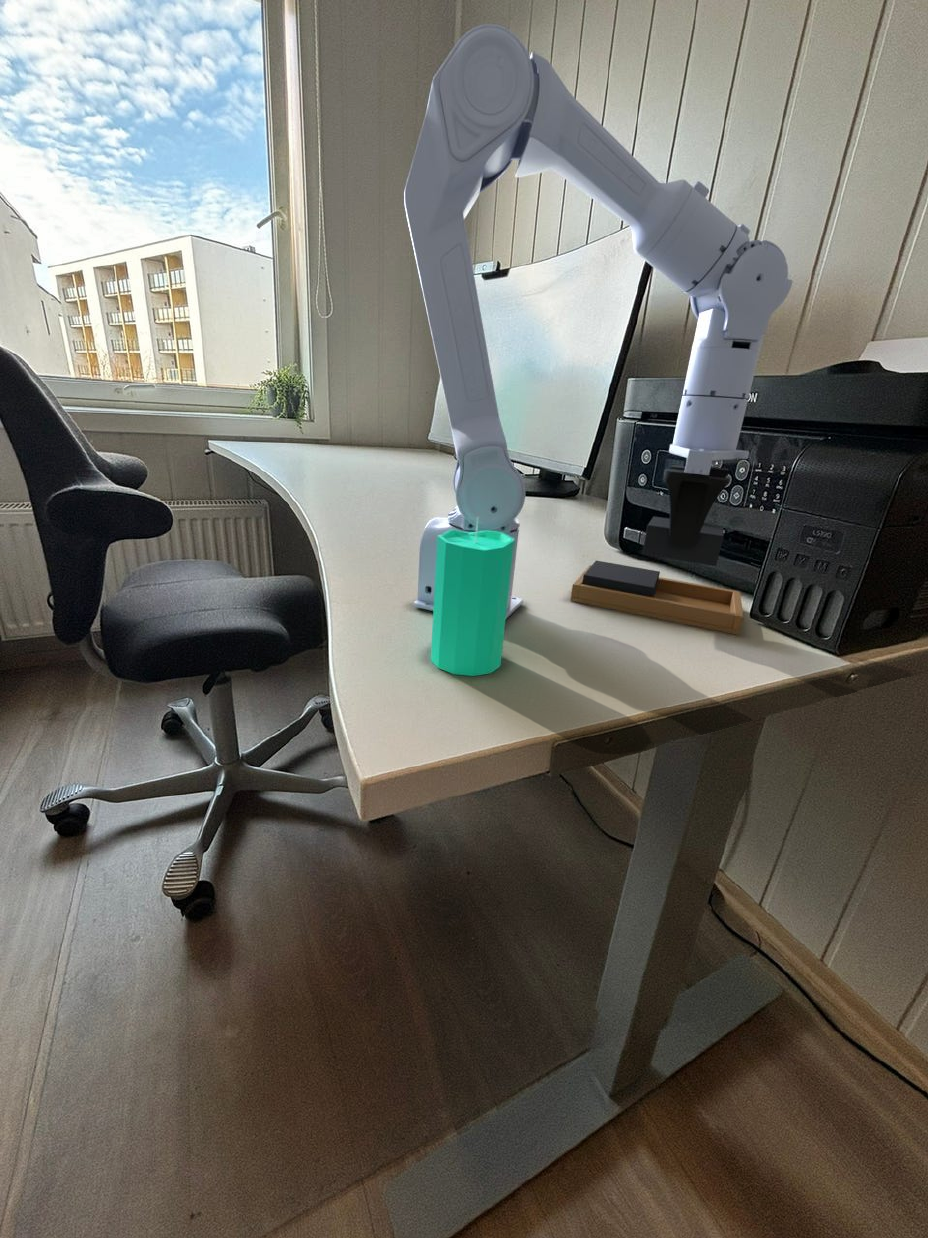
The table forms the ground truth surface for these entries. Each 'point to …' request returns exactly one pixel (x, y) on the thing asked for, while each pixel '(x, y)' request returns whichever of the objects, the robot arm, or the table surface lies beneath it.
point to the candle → (470, 600)
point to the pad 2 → (701, 552)
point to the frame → (671, 603)
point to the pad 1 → (622, 578)
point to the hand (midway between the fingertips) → (682, 540)
